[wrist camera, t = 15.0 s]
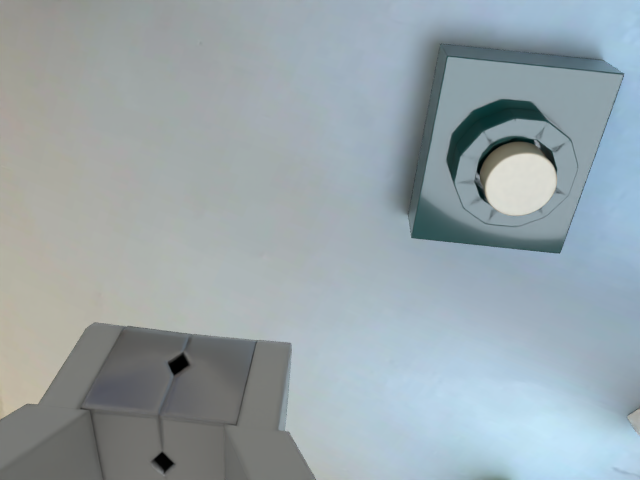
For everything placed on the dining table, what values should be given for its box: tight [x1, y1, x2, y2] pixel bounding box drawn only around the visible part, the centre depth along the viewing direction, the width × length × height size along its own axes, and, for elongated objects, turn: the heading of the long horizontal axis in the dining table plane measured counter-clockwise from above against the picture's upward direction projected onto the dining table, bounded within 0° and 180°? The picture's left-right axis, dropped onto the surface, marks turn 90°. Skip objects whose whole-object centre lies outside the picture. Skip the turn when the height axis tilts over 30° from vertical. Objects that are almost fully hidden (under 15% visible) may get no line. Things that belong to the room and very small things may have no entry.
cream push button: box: [480, 142, 557, 216], centre depth 33 cm, size 4×4×2 cm
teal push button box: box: [408, 44, 624, 253], centre depth 36 cm, size 12×10×5 cm
